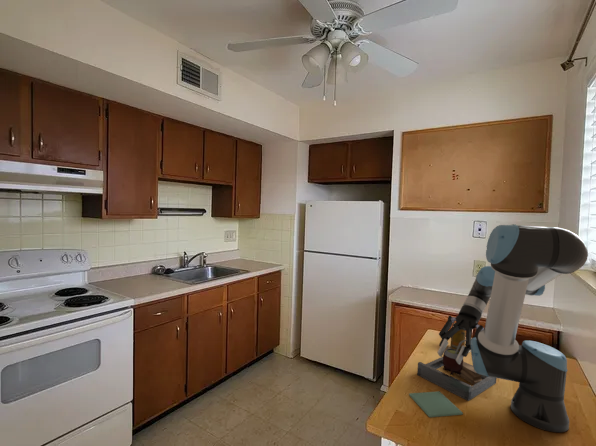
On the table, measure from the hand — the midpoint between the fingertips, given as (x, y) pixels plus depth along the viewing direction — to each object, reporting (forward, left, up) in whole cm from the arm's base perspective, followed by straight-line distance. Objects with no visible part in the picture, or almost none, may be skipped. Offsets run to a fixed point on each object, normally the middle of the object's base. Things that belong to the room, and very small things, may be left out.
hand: (448, 358), depth 121 cm
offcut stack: (+5, -11, -10) cm, 16 cm away
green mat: (-11, +13, -10) cm, 20 cm away
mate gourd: (+1, -3, -6) cm, 7 cm away
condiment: (+27, -26, -10) cm, 39 cm away
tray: (+3, -6, -10) cm, 12 cm away
